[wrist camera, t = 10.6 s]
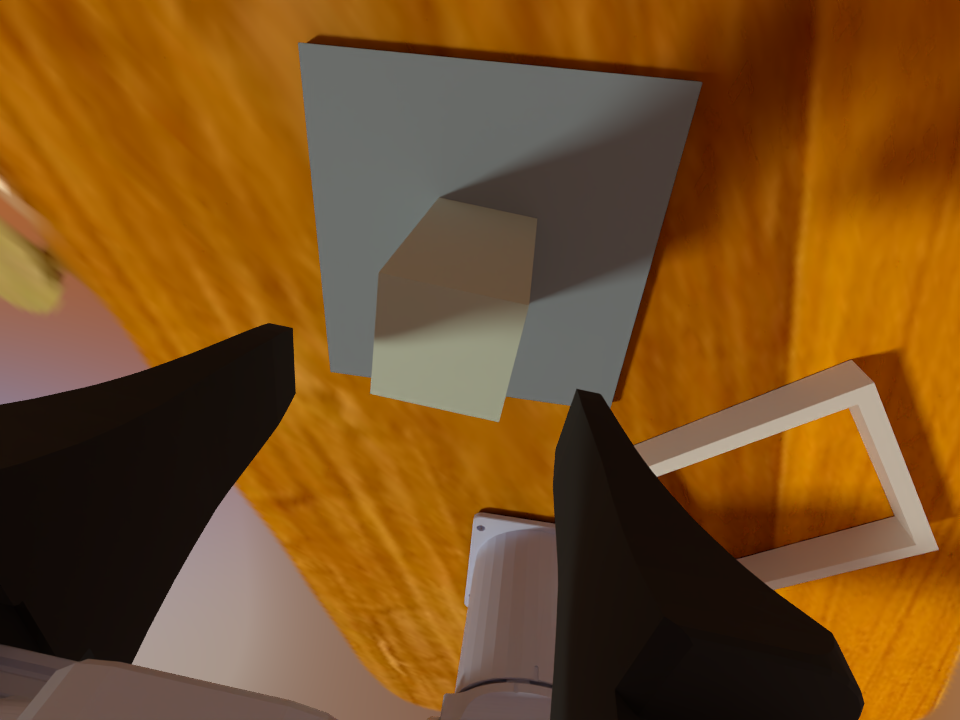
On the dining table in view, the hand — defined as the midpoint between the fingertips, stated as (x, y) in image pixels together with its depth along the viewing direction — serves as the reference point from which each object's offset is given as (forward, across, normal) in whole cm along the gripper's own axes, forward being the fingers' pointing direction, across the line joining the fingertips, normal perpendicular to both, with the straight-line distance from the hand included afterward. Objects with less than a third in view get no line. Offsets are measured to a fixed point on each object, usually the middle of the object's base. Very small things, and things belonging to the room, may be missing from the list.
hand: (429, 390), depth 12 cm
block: (+10, 0, 0) cm, 10 cm away
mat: (+10, 0, 0) cm, 10 cm away
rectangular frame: (+10, -17, +10) cm, 22 cm away
